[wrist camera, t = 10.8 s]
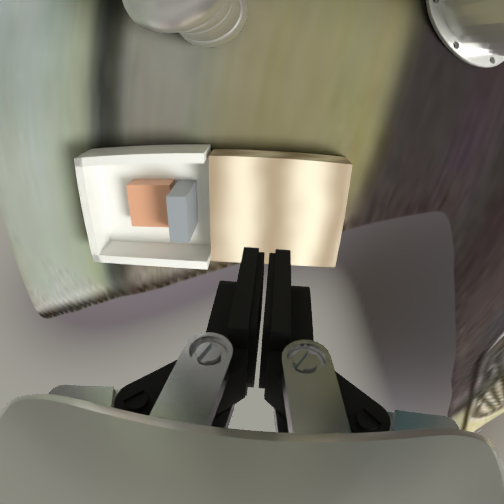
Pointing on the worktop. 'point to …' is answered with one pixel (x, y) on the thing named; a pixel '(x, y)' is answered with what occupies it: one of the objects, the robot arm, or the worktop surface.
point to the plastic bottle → (191, 18)
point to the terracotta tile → (149, 201)
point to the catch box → (117, 206)
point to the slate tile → (182, 210)
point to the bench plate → (277, 204)
